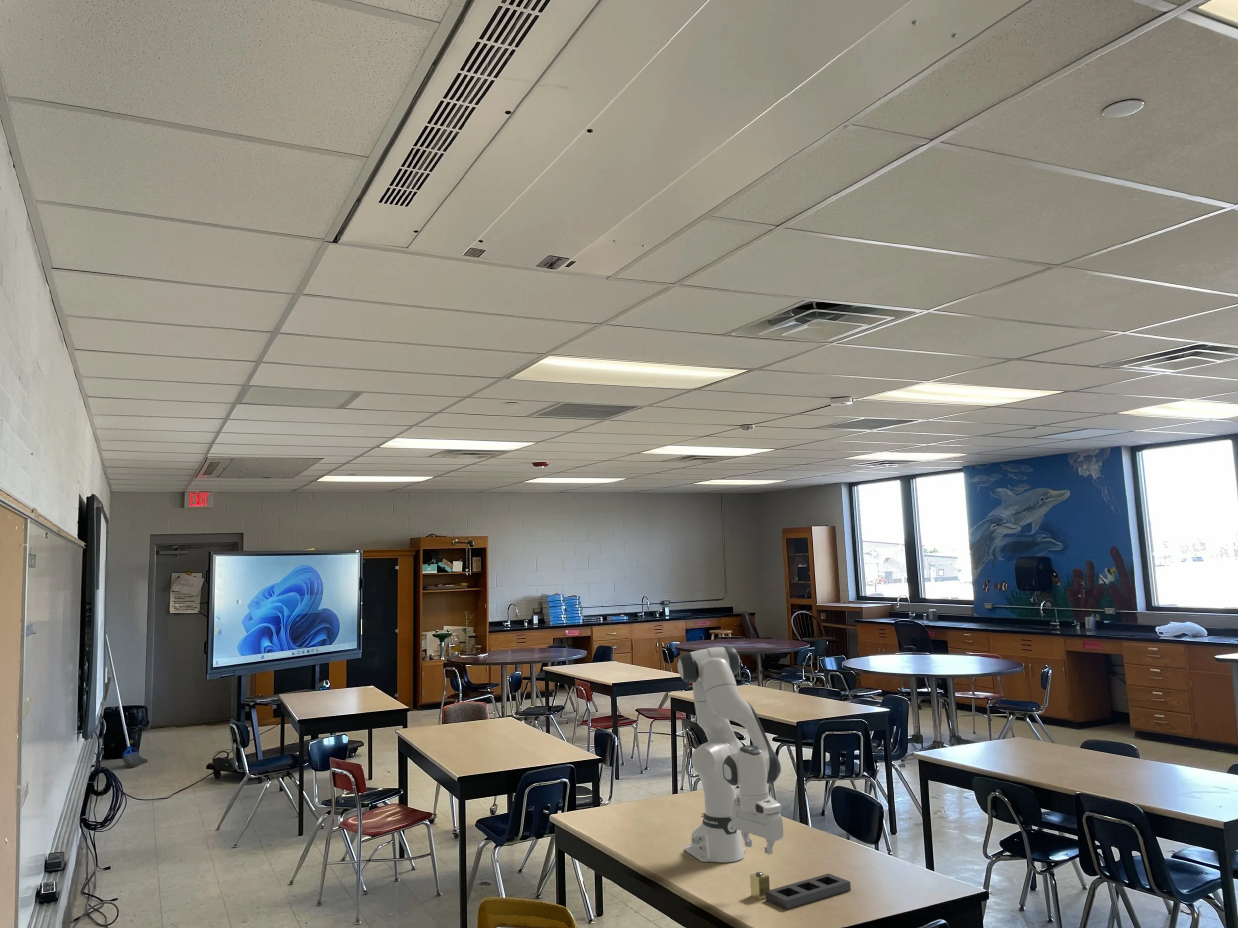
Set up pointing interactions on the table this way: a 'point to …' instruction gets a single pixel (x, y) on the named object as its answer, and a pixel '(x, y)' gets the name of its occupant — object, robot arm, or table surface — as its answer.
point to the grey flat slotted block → (807, 891)
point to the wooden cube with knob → (759, 885)
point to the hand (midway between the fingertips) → (758, 849)
